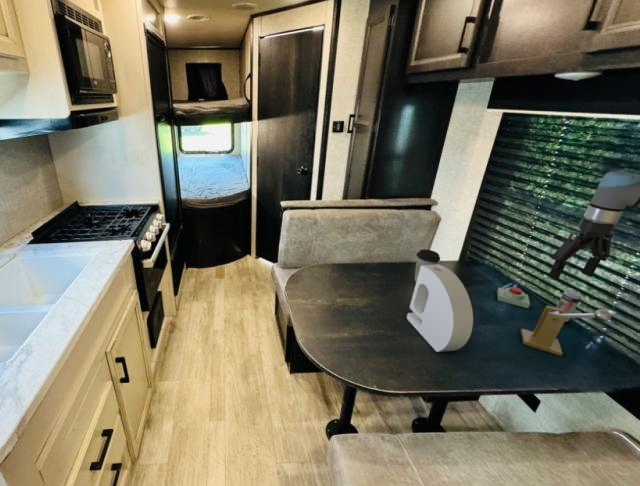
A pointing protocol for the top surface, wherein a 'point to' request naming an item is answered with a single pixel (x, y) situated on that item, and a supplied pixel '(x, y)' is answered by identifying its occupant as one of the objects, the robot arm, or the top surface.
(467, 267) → the top surface
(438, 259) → the coffee cup
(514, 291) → the button
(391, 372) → the top surface
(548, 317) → the bracket
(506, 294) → the button block
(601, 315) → the tap lever
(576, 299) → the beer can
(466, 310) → the white curved block
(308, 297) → the top surface
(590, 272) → the robot arm
